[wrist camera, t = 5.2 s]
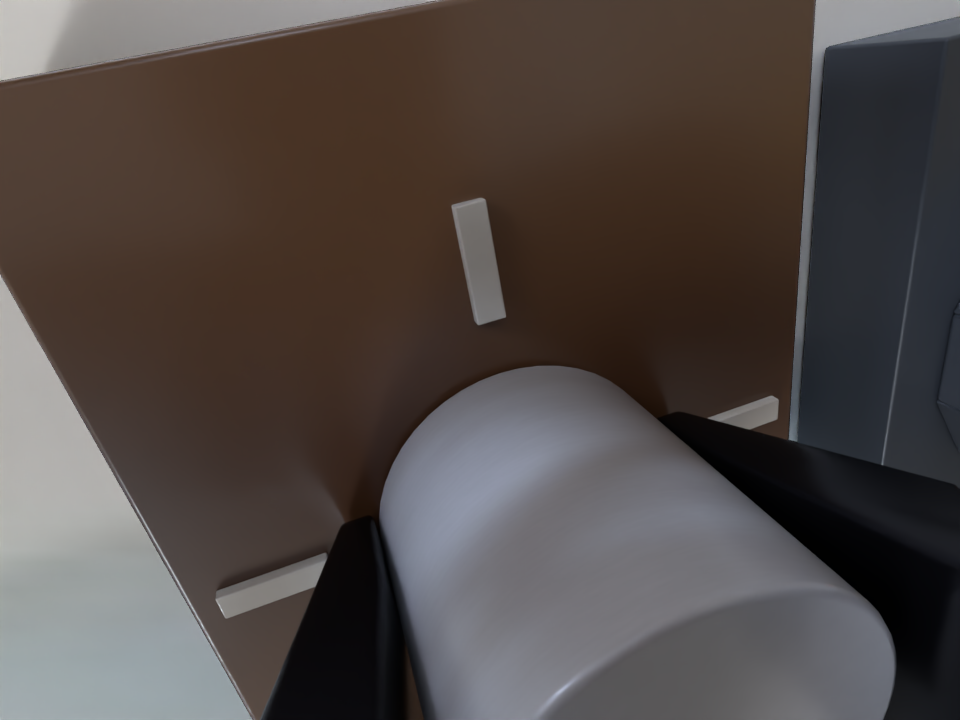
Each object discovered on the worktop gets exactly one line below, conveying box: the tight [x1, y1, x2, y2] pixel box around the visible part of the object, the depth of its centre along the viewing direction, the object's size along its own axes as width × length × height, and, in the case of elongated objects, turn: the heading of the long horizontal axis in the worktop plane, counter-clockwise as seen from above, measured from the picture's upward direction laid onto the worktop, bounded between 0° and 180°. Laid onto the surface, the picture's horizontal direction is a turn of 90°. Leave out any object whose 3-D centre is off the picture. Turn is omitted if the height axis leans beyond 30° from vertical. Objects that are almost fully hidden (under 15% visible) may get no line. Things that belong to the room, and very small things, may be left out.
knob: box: [379, 366, 897, 720], centre depth 7 cm, size 4×4×4 cm
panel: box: [0, 0, 816, 720], centre depth 10 cm, size 12×9×3 cm
